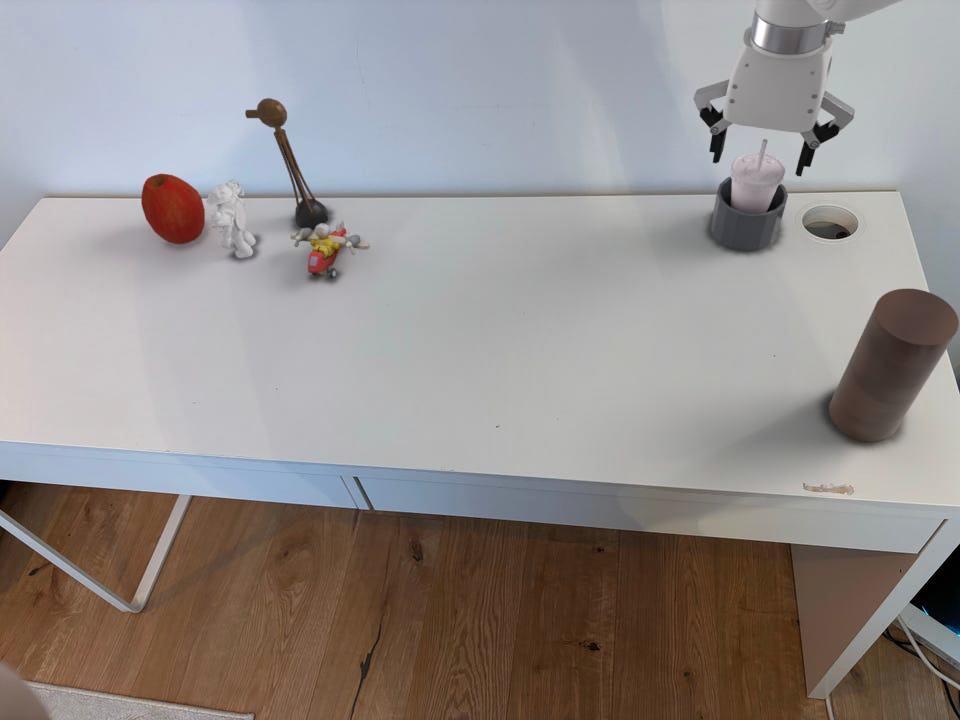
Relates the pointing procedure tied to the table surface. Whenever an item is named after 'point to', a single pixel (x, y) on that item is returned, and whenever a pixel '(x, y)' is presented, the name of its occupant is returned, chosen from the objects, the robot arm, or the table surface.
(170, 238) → the red oval fruit
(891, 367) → the stand
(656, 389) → the table surface
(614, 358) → the table surface
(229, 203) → the hat wearing toy figure
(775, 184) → the smoothie
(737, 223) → the grey cup holder
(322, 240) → the toy airplane
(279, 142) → the wooden tabletop sculpture
